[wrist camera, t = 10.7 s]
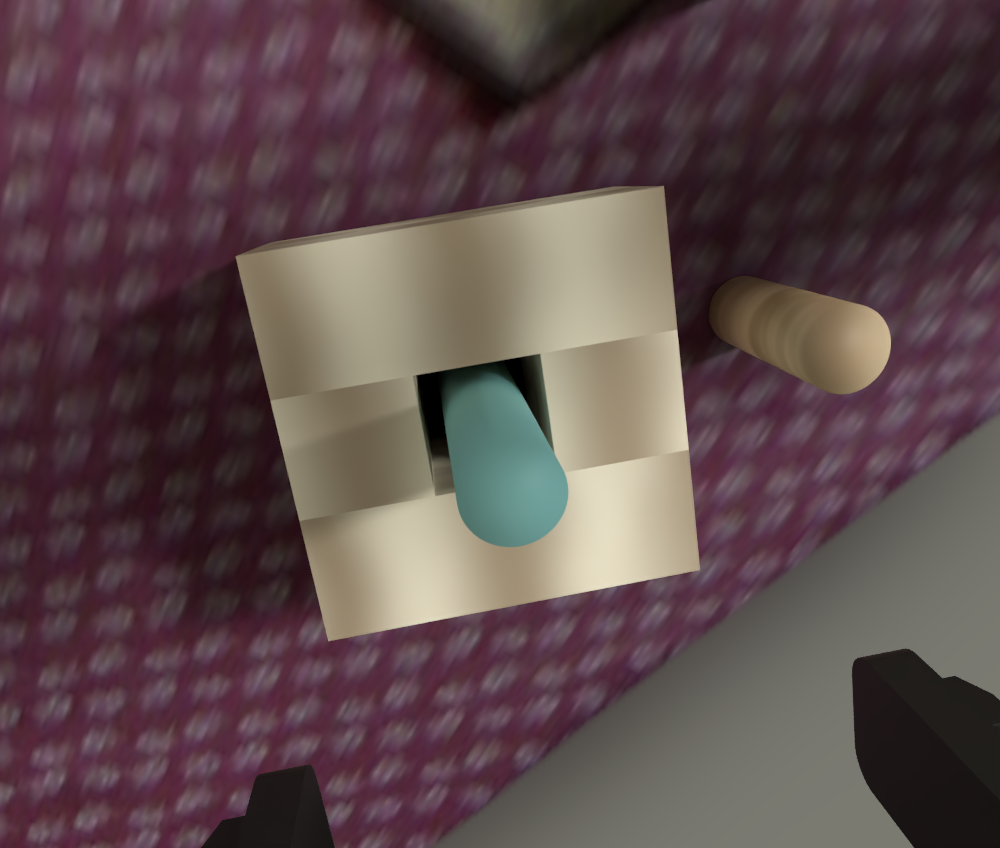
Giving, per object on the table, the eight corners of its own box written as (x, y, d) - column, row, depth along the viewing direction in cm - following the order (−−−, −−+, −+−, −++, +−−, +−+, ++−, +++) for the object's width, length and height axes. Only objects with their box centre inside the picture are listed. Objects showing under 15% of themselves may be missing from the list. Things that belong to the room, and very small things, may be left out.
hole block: (613, 186, 34) (663, 186, 27) (648, 502, 38) (699, 569, 31) (270, 242, 33) (235, 256, 27) (342, 559, 37) (328, 641, 30)
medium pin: (773, 270, 36) (889, 296, 27) (777, 339, 37) (891, 385, 28) (705, 282, 36) (800, 312, 27) (711, 350, 36) (805, 401, 28)
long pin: (502, 339, 35) (560, 432, 22) (513, 407, 36) (574, 535, 23) (432, 351, 35) (447, 452, 22) (444, 419, 36) (466, 556, 23)
